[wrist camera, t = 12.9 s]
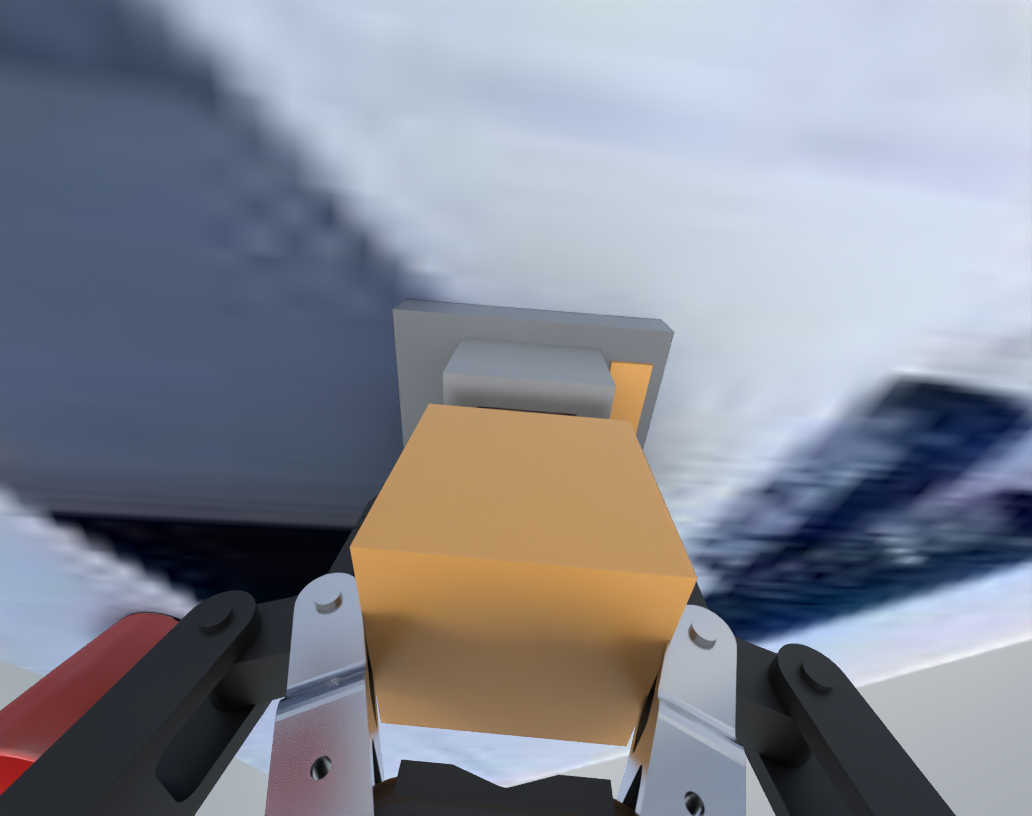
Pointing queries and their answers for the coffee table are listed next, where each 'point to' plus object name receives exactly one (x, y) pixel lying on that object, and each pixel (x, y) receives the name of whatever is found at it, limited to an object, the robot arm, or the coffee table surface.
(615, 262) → the coffee table surface
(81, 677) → the flower pot
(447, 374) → the breaker panel
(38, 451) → the coffee table surface
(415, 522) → the orange wooden cube
